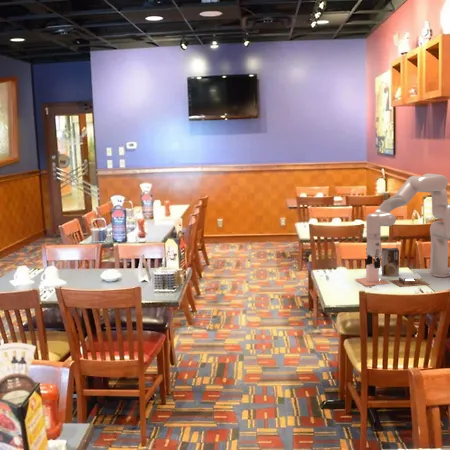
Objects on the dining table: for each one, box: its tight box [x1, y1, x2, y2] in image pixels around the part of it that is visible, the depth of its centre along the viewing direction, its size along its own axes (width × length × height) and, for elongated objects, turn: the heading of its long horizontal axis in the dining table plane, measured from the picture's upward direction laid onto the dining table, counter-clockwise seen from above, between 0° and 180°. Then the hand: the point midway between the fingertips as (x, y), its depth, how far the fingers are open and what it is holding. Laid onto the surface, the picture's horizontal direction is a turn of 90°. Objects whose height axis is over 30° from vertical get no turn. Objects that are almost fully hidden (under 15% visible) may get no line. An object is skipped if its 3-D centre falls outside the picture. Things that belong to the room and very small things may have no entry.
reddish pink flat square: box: [354, 277, 391, 288], centre depth 338 cm, size 14×14×1 cm
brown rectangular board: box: [388, 277, 431, 288], centre depth 333 cm, size 18×14×3 cm
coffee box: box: [381, 247, 400, 277], centre depth 350 cm, size 9×6×16 cm
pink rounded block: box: [365, 264, 380, 282], centre depth 337 cm, size 6×3×9 cm, turn 101°
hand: (373, 266), depth 336 cm, fingers open, 9 cm apart
